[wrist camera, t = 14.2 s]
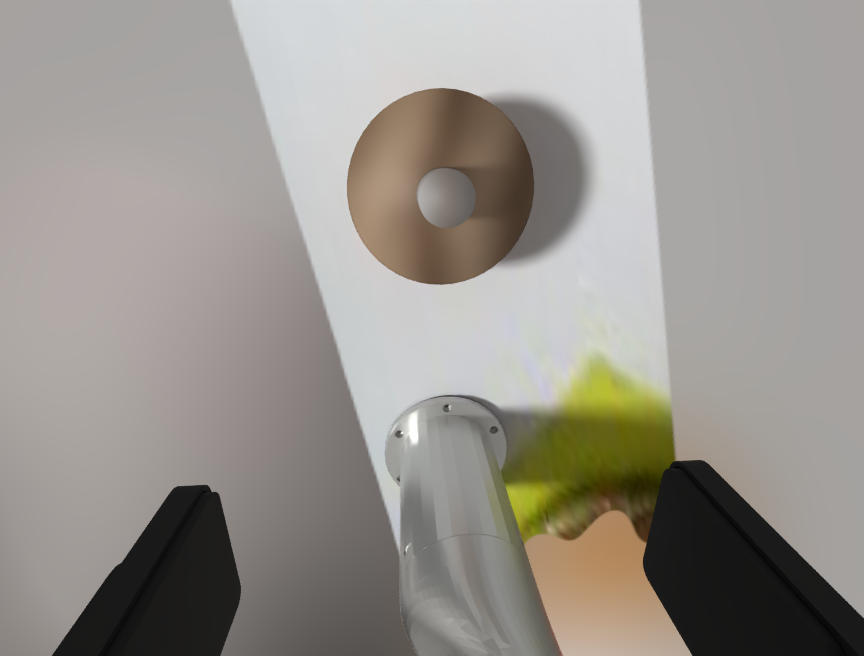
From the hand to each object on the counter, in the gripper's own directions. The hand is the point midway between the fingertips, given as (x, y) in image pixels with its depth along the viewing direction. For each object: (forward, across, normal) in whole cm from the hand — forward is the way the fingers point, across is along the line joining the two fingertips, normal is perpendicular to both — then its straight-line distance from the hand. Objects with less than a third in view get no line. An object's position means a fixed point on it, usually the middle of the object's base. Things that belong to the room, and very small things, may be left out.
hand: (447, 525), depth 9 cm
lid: (+25, -2, -5) cm, 26 cm away
